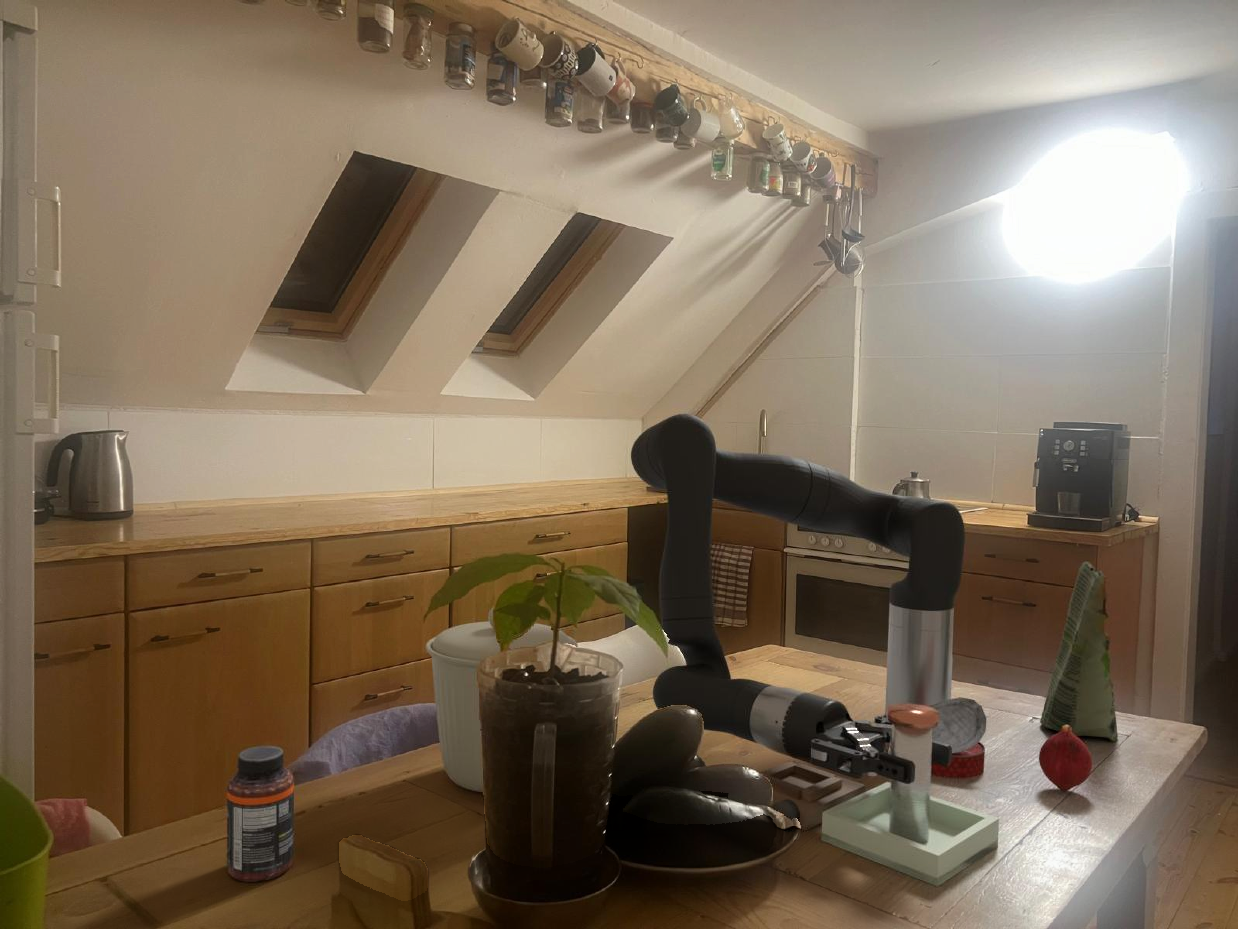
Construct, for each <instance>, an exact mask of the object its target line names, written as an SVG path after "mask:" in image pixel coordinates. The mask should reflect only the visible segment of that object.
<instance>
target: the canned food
mask: <svg viewBox="0 0 1238 929" xmlns="http://www.w3.org/2000/svg"><path fill="white" fill-rule="evenodd" d="M928 707H931V708H934V709H936V710H938V711H939V725H938V726H937V727H935V728H933V731H932V740H935V741H938V742H942V743H945V744H949V745H950V746H951V747H952V762H951V764H950V765H947V766H942V765H939V764H935V763H932V762H931V776H933V777H940V778H946V779H970V778H971V779H972V778H975V777H979V776H982V774H983V773H984V771H985V758H986V756H985V755H986V754H985V752H986V747H985V745H984V744H983V743H982V742H980V741H981V740H982V738H983V736H984V735H985V734H986V732H987V716H986V714H985V712H984V709H983V706H982V705H981V704H980V703H978V702H977V701H976V700H975V699H971V698H967V697H956V698H951V699H949V700H943V701H941V702H938V703H936V704H934V705H931V706H928Z"/></svg>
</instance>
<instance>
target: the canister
mask: <svg viewBox="0 0 1238 929" xmlns="http://www.w3.org/2000/svg"><path fill="white" fill-rule="evenodd" d="M494 607H495V606H493V607H491V609H490V610H489V611H488V617H487V618H488V621H478V622H469V623H464V624H463V623H462V624H459V625H455V626H451V627H449V628H448V629H445V630H442V631H441V632H440V633H439V634H437V635H436V636H434V637H433V638H430V639H429V640H428V641H427V642H426V644H425V649H426V652H427V654H429V656H431V663H432V664H431V666H432V678H433V689H434V700H435V710H436V720H437V730H438V737H439V739H438V740H439V746H440V753H441V754H440V755H441V760H442V764H443V768H444V771H445V773H446V775H447V776H448V777H449V778H450V780H451V781H452V782H453V783H455V785H458V786H460V787H461V788H463V789H466V790H471V791H473V792H480V793H484V792H483V767H482V746H481V736H480V729H481V726H480V720H479V688H478V681H477V670H478V666H479V662H480V661H482V660H483V659H484V658H485V657H487V656H490V655H492V654H497V653H499V652H500V646H499V643H498V642H497V639H496V633H495V630H494V623H493V609H494ZM551 627H552V626H550V625H546V624H541V623H536V622H535V624H534V626H532V627H531V629H530V630H528V632H527V633H525V634H524V635H523V636H521V637H519V638H517V640H514V641H513V643H511V644H510V646H509V648H510V649H514V648H520V647H534V646H537V645H540V644H542V643H551V642H552V640H553V631H552V630H551ZM559 642H560V643H568V644H572V645H575V646H576V647H578V642H577V641H576V640H575V639H574V638H572V637H571V636H568V635H567V634H566V633H565V632H564V631H563V630H560V631H559Z"/></svg>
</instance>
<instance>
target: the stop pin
mask: <svg viewBox="0 0 1238 929" xmlns="http://www.w3.org/2000/svg"><path fill="white" fill-rule="evenodd" d="M886 718H887V720H888V721H889V722H890V723H892V724H893V726H892V755H894V756H897V757H900V758H904V759H907V760H910V761H912V762H913V763H914V764H915V780H914V782H912V783H910V784H905V783H902V782H899V781H896V780H893V779H890V783H891V787H890V818H889V833H892V834H895V835H898V836H900V837H903V838H906V839H908V840H911V841H914V842H916V843H924V842H926V841H928V840H929V821H930V796H931V789H932V787H931V786H932V775H931V761H932V731H933V728H935V727H937V726H938V725H939V711H938V710H936V709H934V708H931V707H928V706H924V705H919V704H910V703H897V704H891V705H889V706H887V716H886Z"/></svg>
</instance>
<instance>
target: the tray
mask: <svg viewBox="0 0 1238 929" xmlns="http://www.w3.org/2000/svg"><path fill="white" fill-rule="evenodd" d="M890 787H891V782H890V781H889V782H888V781H886V782H884V783H882V784H880V785H878V786H876V787H874V788H871V789H869V790H867V791H865V793H862V794H860V795H858V796H856V797H854V798H852V799H850V800H847V801H845V802H843V803H841V804H839V805H837V806H835V807H833V808H830V809H828V810H826V811H824V812H822V823H821V841H822V842H825V843H827V844H830V845H833V846H835V847H837V848H840V849H843V850H844V851H847V852H851V853H853V854H854V855H857V856H860V857H862V858H865V859H866V860H867V859H868V860H870V861H872V862H874V863H877V864H880V865H881V866H885V867H888V868H890V869H892V870H895V871H897V872H900V873H902V874H905V875H907V876H909V877H912V878H915V879H917V880H919V881H922V882H924V883H927V884H930V885H932V886H935V887H939V886H940V885H942V884H944V883H946V882H947V881H948V880H949V879H951V878H952V877H954V876H956V875H957V874H959V873H960V872H962V871H963V870H965V869H967V868H968V867H969V866H971V865H972V864H974V863H975V862H977V861H978V860H980V859H981V858H983V857H984V856H986V855H987V854H989V853H991V852H992V851H994V850H995V849H996V848H998V847H999V830H1000V829H999V827H1000V825H999V824H1000V818H999V817H996V816H992V815H990V814H987V813H984V812H981V811H977V810H974V809H973V808H972V809H971V808H968V807H966V806H963V805H960V804H957V803H953V802H951V801H947V800H944V799H941V798H938V797H935V796H932V795H930V821H929V840H928V841H926V842H924V843H916V842H914V841H911V840H908V839H906V838H903V837H900V836H898V835H895V834H892V833H889V818H890ZM988 852H989V853H988ZM985 854H986V855H985ZM983 855H984V856H983ZM973 862H974V863H973ZM967 866H968V867H967Z"/></svg>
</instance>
